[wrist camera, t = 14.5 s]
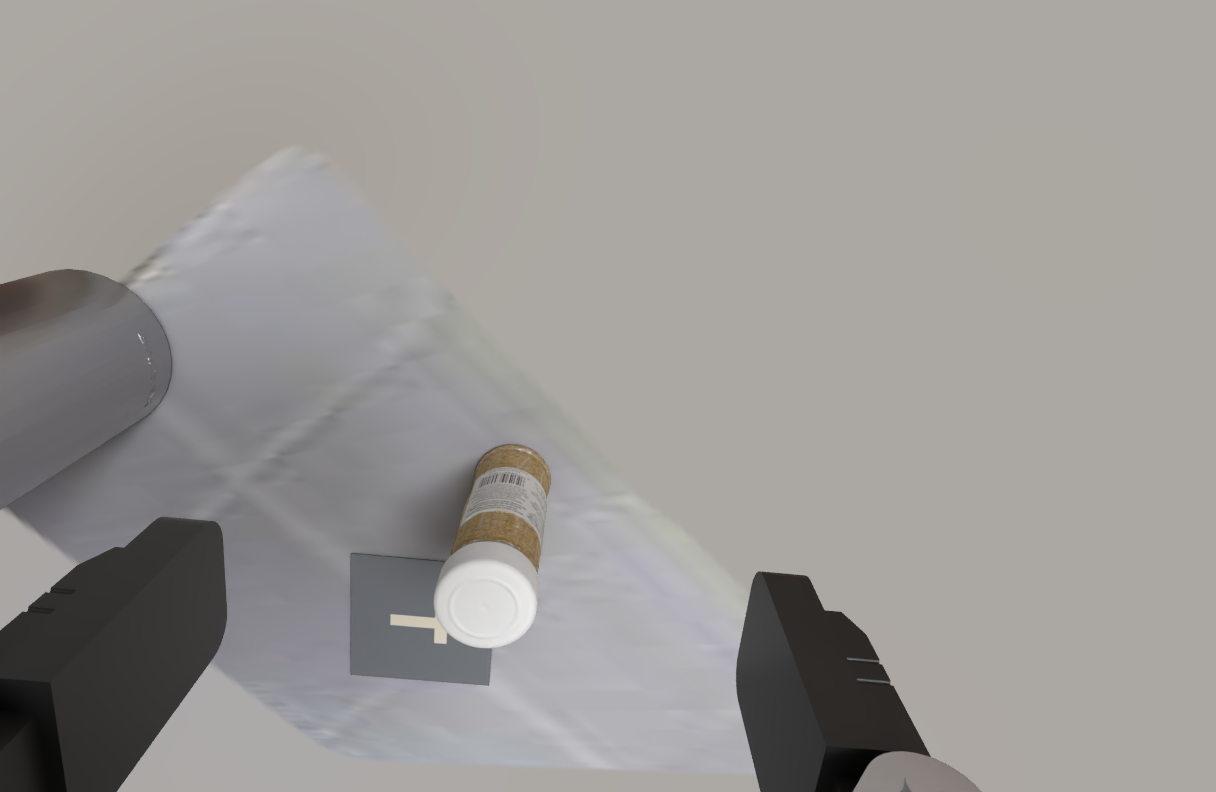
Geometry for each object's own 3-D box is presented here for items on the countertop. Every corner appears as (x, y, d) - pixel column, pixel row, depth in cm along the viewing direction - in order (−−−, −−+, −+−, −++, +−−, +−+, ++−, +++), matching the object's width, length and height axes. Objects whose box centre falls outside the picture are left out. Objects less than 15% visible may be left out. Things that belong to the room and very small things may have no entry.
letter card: (351, 673, 51) (350, 674, 51) (351, 553, 48) (350, 554, 48) (489, 684, 51) (488, 685, 51) (497, 565, 48) (497, 566, 48)
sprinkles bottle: (469, 501, 47) (422, 641, 34) (484, 433, 45) (441, 552, 33) (543, 518, 47) (524, 662, 35) (560, 451, 46) (547, 575, 33)
